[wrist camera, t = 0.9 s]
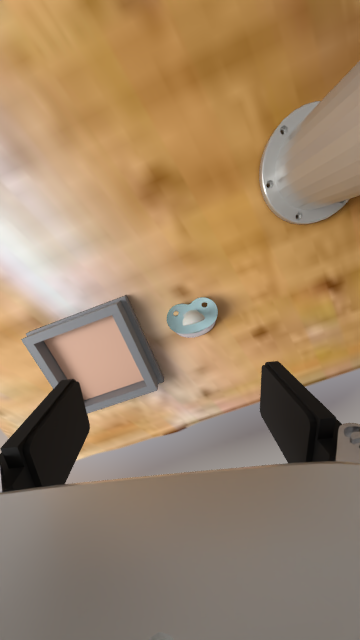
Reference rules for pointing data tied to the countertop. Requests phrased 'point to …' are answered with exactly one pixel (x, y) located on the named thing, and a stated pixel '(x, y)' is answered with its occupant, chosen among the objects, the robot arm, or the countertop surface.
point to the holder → (98, 354)
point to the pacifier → (193, 318)
